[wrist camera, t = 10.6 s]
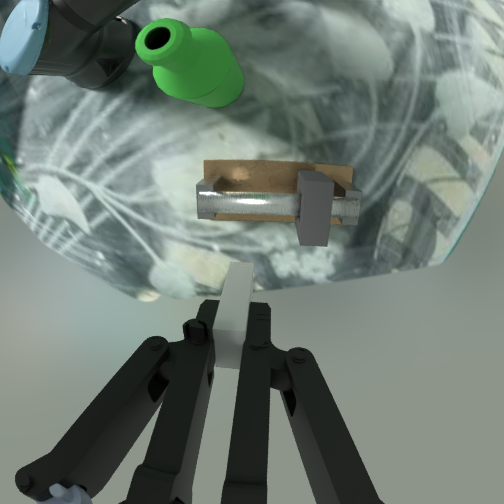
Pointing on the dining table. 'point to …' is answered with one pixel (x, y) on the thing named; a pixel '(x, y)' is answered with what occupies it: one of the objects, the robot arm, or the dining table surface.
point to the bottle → (191, 63)
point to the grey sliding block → (314, 208)
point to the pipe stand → (270, 191)
